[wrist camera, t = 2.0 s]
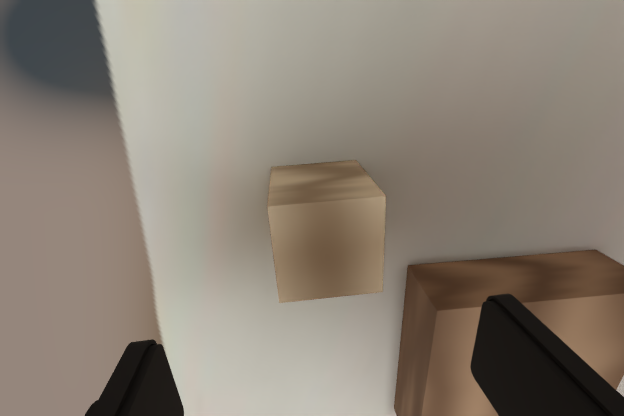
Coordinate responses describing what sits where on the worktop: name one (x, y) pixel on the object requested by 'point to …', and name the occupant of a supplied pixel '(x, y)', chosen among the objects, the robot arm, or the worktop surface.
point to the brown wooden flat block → (466, 312)
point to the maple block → (326, 230)
